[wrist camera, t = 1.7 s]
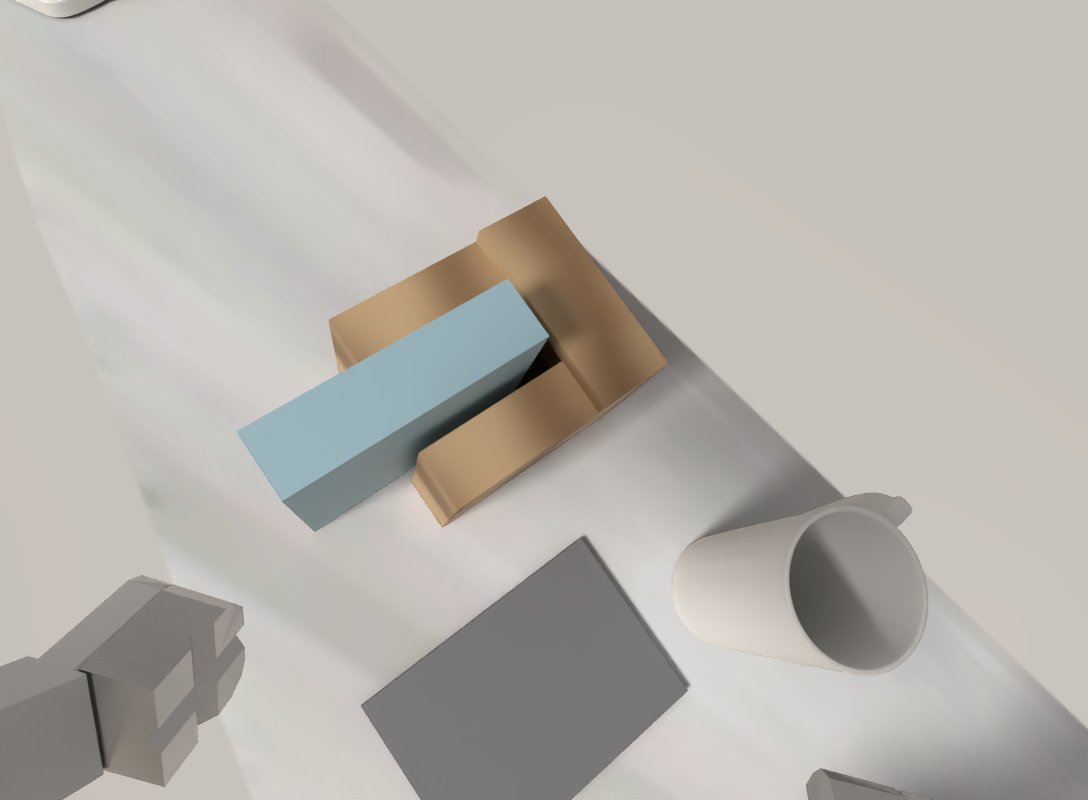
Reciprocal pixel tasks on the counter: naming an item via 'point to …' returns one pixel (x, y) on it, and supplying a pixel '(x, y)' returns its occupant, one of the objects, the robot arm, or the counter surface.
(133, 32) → the counter surface
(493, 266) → the slot box
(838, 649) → the mug
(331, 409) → the blue rectangular block
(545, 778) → the mat
